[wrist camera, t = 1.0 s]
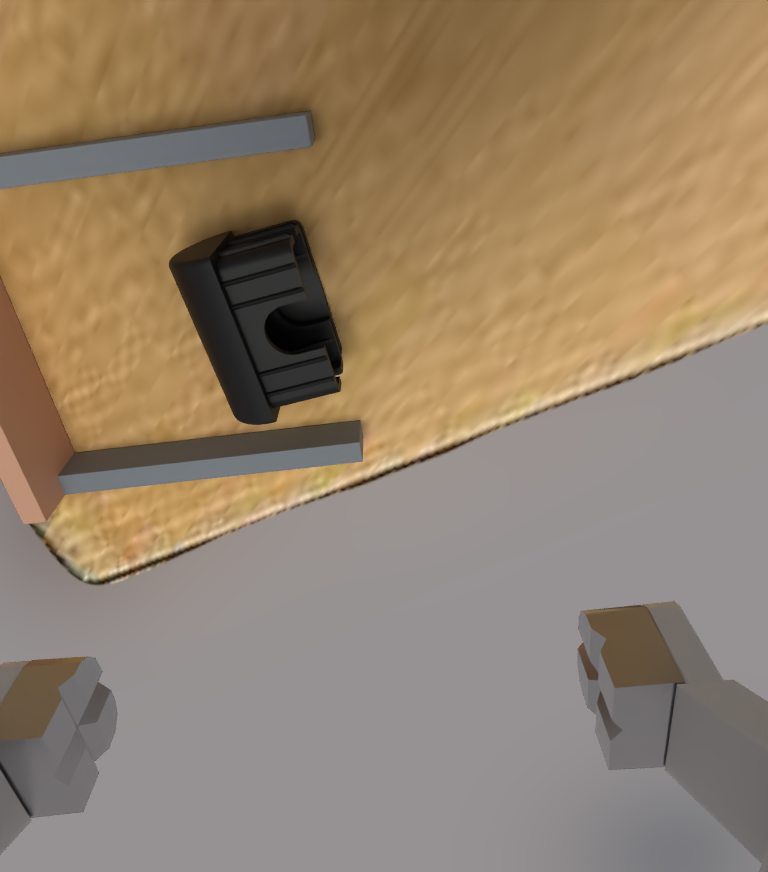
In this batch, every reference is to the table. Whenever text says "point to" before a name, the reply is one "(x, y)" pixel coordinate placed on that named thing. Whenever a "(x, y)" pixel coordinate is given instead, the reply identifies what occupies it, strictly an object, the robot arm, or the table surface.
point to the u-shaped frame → (155, 463)
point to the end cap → (261, 318)
